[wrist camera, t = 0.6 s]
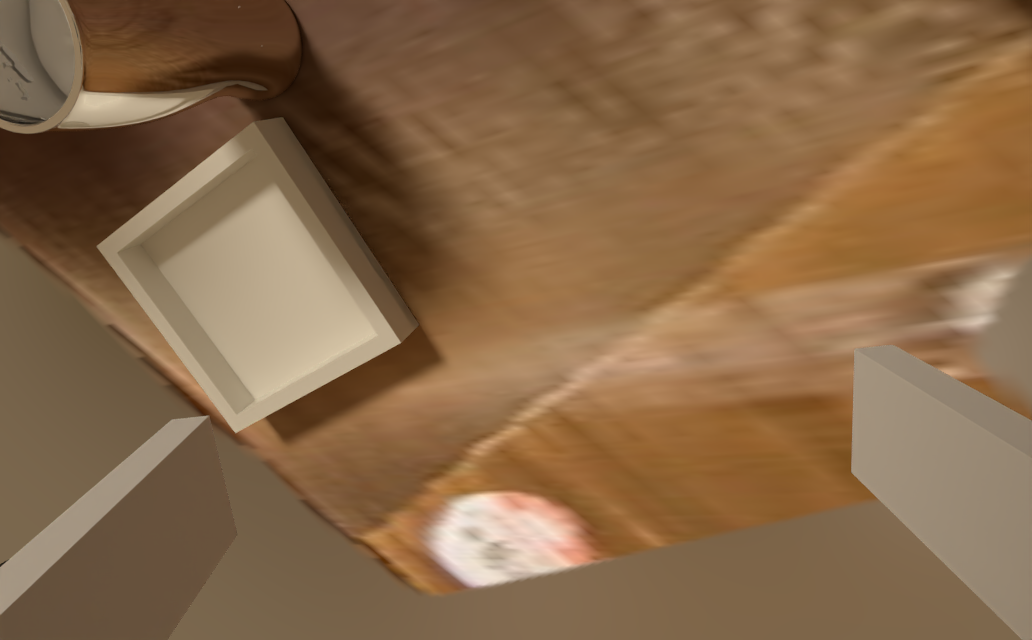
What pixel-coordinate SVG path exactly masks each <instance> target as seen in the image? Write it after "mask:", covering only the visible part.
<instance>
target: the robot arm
mask: <svg viewBox="0 0 1032 640" xmlns="http://www.w3.org/2000/svg"><path fill="white" fill-rule="evenodd" d="M851 473H853V474H854V475H855V476H856V477H857V478H858V479H859V480H860V481H861V482H862V483H863V484H864V485H865V486H866V487H867V488H868V489H869V490H870V491H871V492H872V493H873V494H874V495H875V496H876V497H877V498H878V499H879V500H880V501H881V502H882V503H883V504H884V505H885V506H886V507H887V508H888V509H889V510H890V511H891V512H892V513H893V514H895V516H896V517H897V518H898V519H899V520H900V521H901V522H903V523H904V524H905V525H906V526H907V527H908V528H909V529H910V530H911V531H912V532H913V533H914V534H915V535H916V536H917V537H918V538H919V539H920V540H921V541H922V542H923V543H924V544H925V545H926V546H927V547H928V548H929V549H930V550H931V551H932V552H933V553H934V554H935V555H936V556H937V557H938V558H939V559H940V560H941V561H942V562H943V563H944V564H945V565H946V566H947V567H948V568H949V569H950V570H951V571H953V573H955V574H956V575H957V576H958V577H959V578H960V579H961V580H962V581H963V582H964V583H965V584H966V585H967V586H968V587H969V588H970V589H971V590H972V591H973V592H974V593H975V594H976V595H977V596H978V597H979V598H980V599H981V600H982V601H983V602H984V603H985V604H986V605H987V606H988V607H989V608H990V609H991V610H992V611H993V612H994V613H996V615H997V616H998V617H999V618H1000V619H1001V620H1003V621H1004V623H1006V624H1007V625H1008V626H1009V627H1010V628H1011V629H1012V630H1013V631H1014V632H1015V633H1016V634H1017V635H1018V636H1019V637H1020V638H1021V639H1022V640H1032V421H1031V420H1029V419H1028V418H1026V417H1024V416H1022V415H1020V414H1018V413H1017V412H1015V411H1013V410H1011V409H1009V408H1007V407H1006V406H1004V405H1002V404H1000V403H998V402H997V401H995V400H993V399H991V398H989V397H987V396H986V395H984V394H982V393H980V392H978V391H976V390H975V389H973V388H971V387H969V386H967V385H965V384H964V383H962V382H960V381H958V380H956V379H954V378H953V377H951V376H949V375H947V374H945V373H943V372H942V371H940V370H938V369H936V368H934V367H932V366H931V365H929V364H927V363H925V362H923V361H921V360H920V359H918V358H916V357H914V356H912V355H910V354H909V353H907V352H905V351H903V350H901V349H900V348H898V347H896V346H894V345H886V346H876V347H867V348H857V349H855V352H854V391H853V429H852V468H851ZM236 536H237V530H236V526H235V522H234V518H233V514H232V509H231V506H230V501H229V497H228V493H227V489H226V485H225V480H224V476H223V472H222V468H221V463H220V459H219V455H218V451H217V447H216V443H215V438H214V434H213V430H212V426H211V422H210V417H209V416H202V417H192V418H182V419H174V420H171V421H170V422H169V423H167V424H166V425H165V426H164V427H163V428H162V429H160V430H159V431H158V432H157V433H156V434H155V435H153V436H152V437H151V438H150V439H149V440H148V441H146V442H145V443H144V444H143V445H142V446H141V447H139V448H138V449H137V450H136V451H135V452H134V453H132V454H131V455H130V456H129V457H128V458H127V459H125V460H124V461H123V462H122V463H121V464H120V465H118V466H117V467H116V468H115V469H114V470H113V471H112V472H111V473H109V474H108V475H107V476H106V477H105V478H103V479H102V480H101V481H100V482H99V483H98V484H97V485H95V486H94V487H93V488H92V489H91V490H90V491H88V492H87V493H86V494H85V495H84V496H82V498H80V499H79V500H78V501H77V502H75V503H74V504H73V505H72V506H71V507H70V508H68V510H66V511H65V512H64V513H63V514H61V515H60V516H59V517H58V518H57V519H56V520H55V521H53V522H52V523H51V524H50V525H49V526H48V527H47V528H45V529H44V530H43V531H42V532H41V533H39V534H38V535H37V536H36V537H35V538H34V539H33V540H31V541H30V542H29V543H28V544H27V545H25V546H24V547H23V548H22V549H21V550H20V551H18V552H17V553H16V554H15V555H14V556H13V557H12V558H10V559H9V560H7V561H5V562H4V563H2V564H0V640H168V638H169V637H170V635H171V634H172V632H173V630H174V629H175V628H176V626H177V625H178V623H179V622H180V620H181V619H182V617H183V616H184V614H185V613H186V611H187V610H188V608H189V607H190V605H191V604H192V602H193V601H194V599H195V598H196V596H197V595H198V593H199V592H200V590H201V589H202V587H203V586H204V584H205V583H206V581H207V579H208V578H209V577H210V575H211V574H212V572H213V571H214V569H215V568H216V566H217V565H218V563H219V562H220V560H221V559H222V557H223V556H224V554H225V553H226V551H227V550H228V548H229V546H230V545H231V544H232V542H233V541H234V539H235V538H236Z"/></svg>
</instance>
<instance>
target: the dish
mask: <svg viewBox="0 0 1032 640" xmlns="http://www.w3.org/2000/svg"><path fill="white" fill-rule="evenodd" d="M96 247H97V248H98V249H99V251H100V252H101V253H102V255H103V256H104V257H105V259H106V260H107V261H108V263H109V264H110V265H111V267H112V268H113V269H114V271H115V272H116V273H117V275H118V276H119V278H120V279H121V280H122V282H123V283H124V284H125V286H126V287H127V288H128V290H129V291H130V292H131V294H132V295H133V296H134V298H135V299H136V300H137V302H138V303H139V304H140V306H141V307H142V308H143V310H144V311H145V312H146V314H147V315H148V316H149V318H150V319H151V320H152V322H153V323H154V324H155V326H156V327H157V328H158V330H159V331H160V333H161V334H162V335H163V337H164V338H165V339H166V341H167V342H168V343H169V345H170V346H171V347H172V349H173V350H174V351H175V353H176V354H177V355H178V357H179V358H180V359H181V361H182V362H183V363H184V365H185V366H186V367H187V369H188V370H189V371H190V373H191V374H192V375H193V377H194V378H195V379H196V381H197V382H198V383H199V385H200V386H201V388H202V389H203V390H204V392H205V393H206V394H207V396H208V397H209V398H210V400H211V401H212V402H213V404H214V405H215V406H216V408H217V409H218V410H219V412H220V413H221V414H222V416H223V417H224V418H225V420H226V421H227V422H228V424H229V425H230V426H231V428H232V429H233V430H234V432H235V433H237V432H238V431H240V430H242V429H244V428H246V427H248V426H249V425H251V424H253V423H255V422H257V421H259V420H260V419H262V418H264V417H266V416H268V415H270V414H271V413H273V412H275V411H277V410H279V409H281V408H282V407H284V406H286V405H288V404H290V403H292V402H293V401H295V400H297V399H299V398H301V397H303V396H304V395H306V394H308V393H310V392H312V391H314V390H316V389H317V388H319V387H321V386H323V385H325V384H327V383H328V382H330V381H332V380H334V379H336V378H338V377H339V376H341V375H343V374H345V373H347V372H349V371H350V370H352V369H354V368H356V367H358V366H360V365H361V364H363V363H365V362H367V361H369V360H371V359H372V358H374V357H376V356H378V355H380V354H382V353H383V352H385V351H387V350H389V349H391V348H393V347H394V346H396V345H398V344H400V343H402V342H403V341H404V340H405V339H406V338H407V337H408V336H409V335H410V334H411V333H412V332H413V331H414V330H415V329H416V328H417V327H418V326H419V324H418V322H417V321H416V319H415V318H414V316H413V315H412V313H411V311H410V310H409V308H408V307H407V305H406V304H405V302H404V301H403V299H402V298H401V296H400V295H399V293H398V292H397V290H396V289H395V287H394V286H393V284H392V283H391V281H390V280H389V278H388V276H387V275H386V273H385V272H384V270H383V269H382V267H381V266H380V264H379V263H378V261H377V260H376V258H375V257H374V255H373V254H372V252H371V251H370V249H369V248H368V246H367V245H366V243H365V241H364V240H363V238H362V237H361V235H360V234H359V232H358V231H357V229H356V228H355V226H354V225H353V223H352V222H351V220H350V219H349V217H348V216H347V214H346V213H345V211H344V210H343V208H342V207H341V205H340V203H339V202H338V200H337V199H336V197H335V196H334V194H333V193H332V191H331V190H330V188H329V187H328V185H327V184H326V182H325V181H324V179H323V178H322V176H321V175H320V173H319V172H318V170H317V168H316V167H315V165H314V164H313V162H312V161H311V159H310V158H309V156H308V155H307V153H306V152H305V150H304V149H303V147H302V146H301V144H300V143H299V141H298V140H297V138H296V137H295V135H294V134H293V132H292V130H291V129H290V127H289V126H288V124H287V123H286V121H285V120H284V118H283V117H279V118H273V119H267V120H261V121H255V122H252V123H251V124H250V125H249V126H247V127H246V128H245V129H244V130H242V131H241V132H240V133H239V134H237V135H236V136H235V137H234V138H232V139H231V140H230V141H229V142H227V143H226V144H225V145H223V146H222V147H221V148H220V149H218V150H217V151H216V152H215V153H213V154H212V155H211V156H210V157H208V158H207V159H206V160H205V161H203V162H202V163H201V164H199V165H198V166H197V167H196V168H194V169H193V170H192V171H191V172H189V173H188V174H187V175H186V176H184V177H183V178H182V179H181V180H179V181H178V182H177V183H176V184H174V185H173V186H172V187H170V188H169V189H168V190H167V191H165V192H164V193H163V194H162V195H160V196H159V197H158V198H157V199H155V200H154V201H153V202H152V203H150V204H149V205H148V206H146V207H145V208H144V209H143V210H141V211H140V212H139V213H138V214H136V215H135V216H134V217H133V218H131V219H130V220H129V221H128V222H126V223H125V224H124V225H123V226H121V227H120V228H119V229H117V230H116V231H115V232H114V233H112V234H111V235H110V236H109V237H107V238H106V239H105V240H104V241H102V242H101V243H100V244H99V245H97V246H96Z"/></svg>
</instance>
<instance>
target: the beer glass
mask: <svg viewBox="0 0 1032 640" xmlns="http://www.w3.org/2000/svg"><path fill="white" fill-rule="evenodd" d="M301 58H302V40H301V34H300V30H299V26H298V24H297V21H296V18H295V16H294V14H293V12H292V11H291V9H290V7H289V6H288V5H287V3H286V2H285V1H284V0H0V128H2V129H5V130H8V131H11V132H15V133H21V134H36V133H42V132H74V131H97V130H107V129H118V128H125V127H131V126H136V125H142V124H147V123H151V122H155V121H158V120H161V119H164V118H167V117H170V116H173V115H176V114H179V113H181V112H184V111H186V110H188V109H191V108H193V107H196V106H198V105H200V104H203V103H205V102H207V101H210V100H212V99H215V98H218V97H223V96H231V97H236V98H241V99H246V100H255V101H258V100H267V99H271V98H274V97H276V96H278V95H279V94H281V93H282V92H284V91H285V90H286V89H287V88H288V87H289V86H290V85H291V84H292V82H293V81H294V79H295V77H296V75H297V73H298V70H299V67H300V64H301Z"/></svg>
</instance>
